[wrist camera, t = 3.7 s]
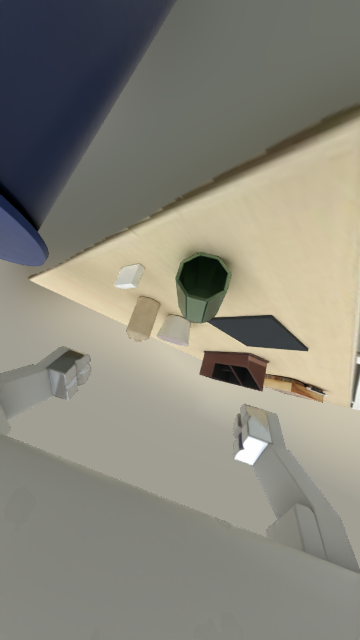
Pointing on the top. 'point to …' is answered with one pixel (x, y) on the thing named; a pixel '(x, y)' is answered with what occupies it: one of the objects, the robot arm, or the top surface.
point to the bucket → (201, 286)
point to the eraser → (129, 276)
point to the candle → (142, 319)
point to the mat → (258, 332)
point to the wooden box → (293, 388)
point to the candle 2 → (175, 330)
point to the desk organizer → (235, 368)
